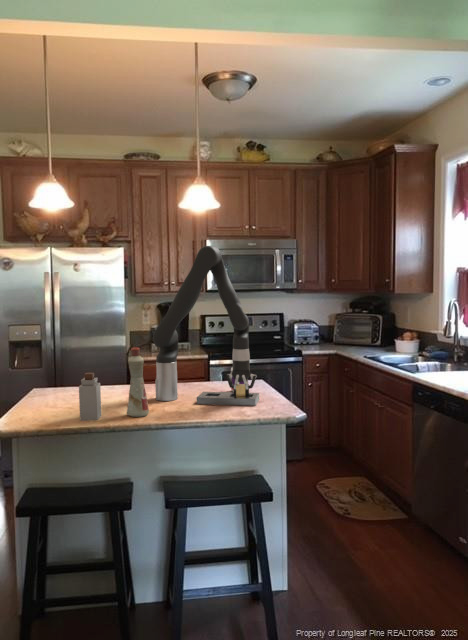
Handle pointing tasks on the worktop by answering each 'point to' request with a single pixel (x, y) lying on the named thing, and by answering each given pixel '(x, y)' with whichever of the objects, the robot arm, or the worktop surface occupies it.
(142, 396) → the bottle
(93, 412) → the perfume bottle
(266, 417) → the worktop surface
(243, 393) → the block
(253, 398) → the silver slotted board
